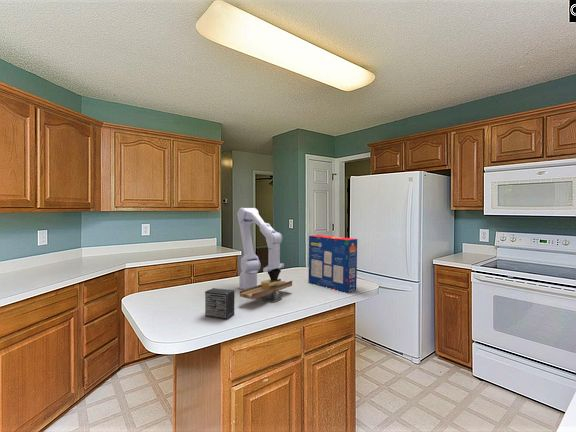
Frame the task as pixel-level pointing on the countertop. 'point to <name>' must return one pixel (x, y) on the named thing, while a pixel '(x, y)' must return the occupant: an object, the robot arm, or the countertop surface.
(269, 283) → the block
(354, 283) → the blue game box
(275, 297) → the fulcrum
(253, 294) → the beam
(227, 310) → the small box
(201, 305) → the countertop surface
